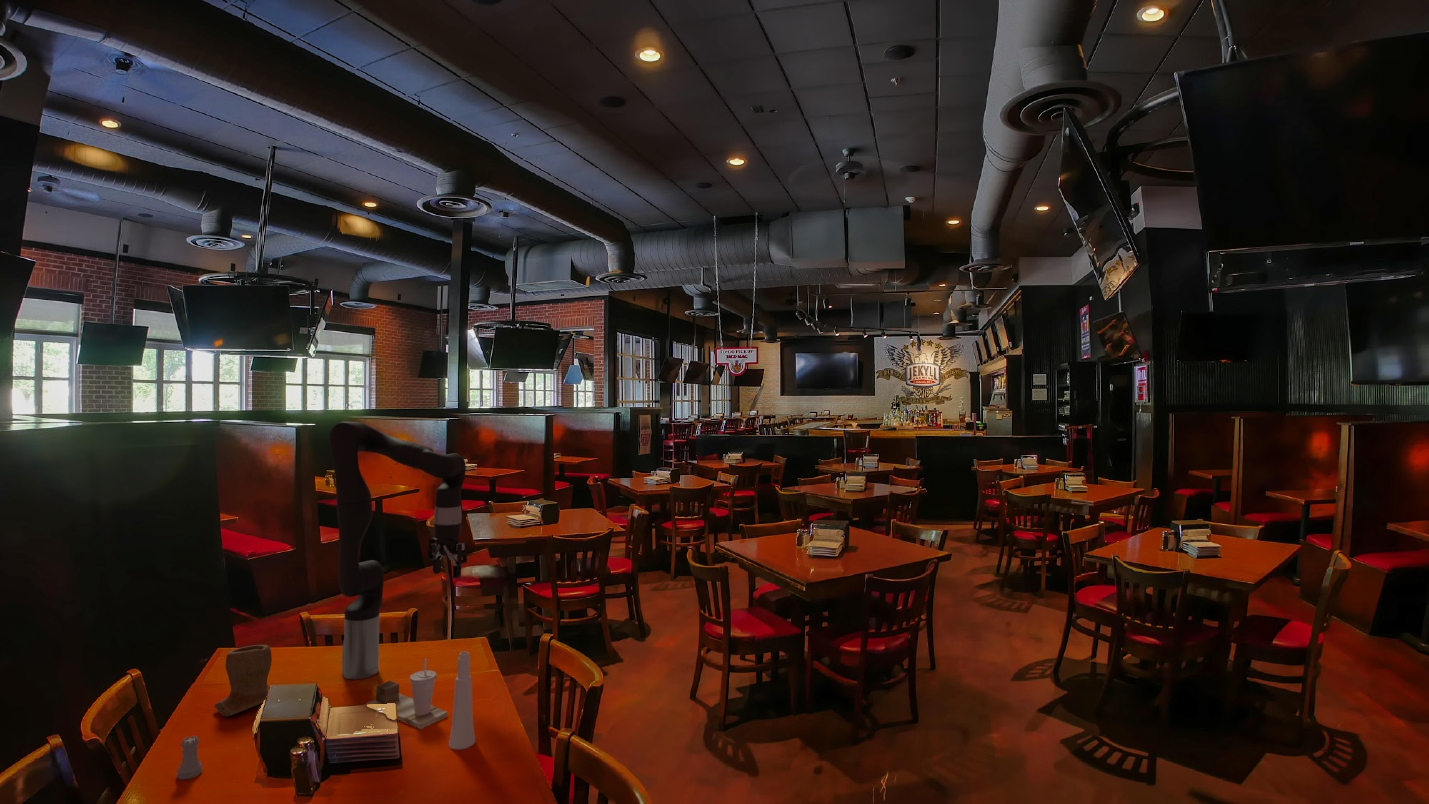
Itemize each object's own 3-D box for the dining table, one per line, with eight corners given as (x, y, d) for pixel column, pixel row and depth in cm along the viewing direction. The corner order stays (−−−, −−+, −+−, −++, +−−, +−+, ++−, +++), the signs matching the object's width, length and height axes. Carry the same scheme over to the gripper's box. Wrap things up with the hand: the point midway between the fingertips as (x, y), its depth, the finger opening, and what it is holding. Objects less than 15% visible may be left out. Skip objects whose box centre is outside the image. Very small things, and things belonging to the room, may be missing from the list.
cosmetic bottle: (445, 741, 162) (447, 651, 162) (470, 734, 166) (472, 646, 166) (452, 752, 157) (454, 660, 157) (478, 745, 161) (480, 654, 161)
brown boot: (257, 689, 187) (258, 636, 187) (288, 697, 183) (289, 642, 183) (199, 713, 173) (200, 655, 173) (231, 722, 169) (232, 663, 169)
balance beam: (363, 708, 178) (364, 689, 178) (396, 694, 186) (396, 676, 186) (417, 730, 167) (418, 710, 167) (449, 715, 175) (450, 695, 175)
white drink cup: (425, 719, 170) (426, 664, 170) (403, 716, 171) (404, 662, 171) (441, 708, 176) (442, 655, 176) (419, 705, 177) (420, 652, 177)
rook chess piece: (185, 769, 148) (186, 733, 148) (207, 769, 148) (207, 733, 148) (171, 781, 143) (171, 744, 143) (193, 780, 144) (194, 743, 144)
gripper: (421, 520, 198) (420, 574, 199) (453, 526, 191) (452, 582, 192) (442, 516, 205) (441, 569, 205) (474, 522, 198) (473, 576, 198)
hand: (446, 575), depth 198 cm, fingers open, 8 cm apart
